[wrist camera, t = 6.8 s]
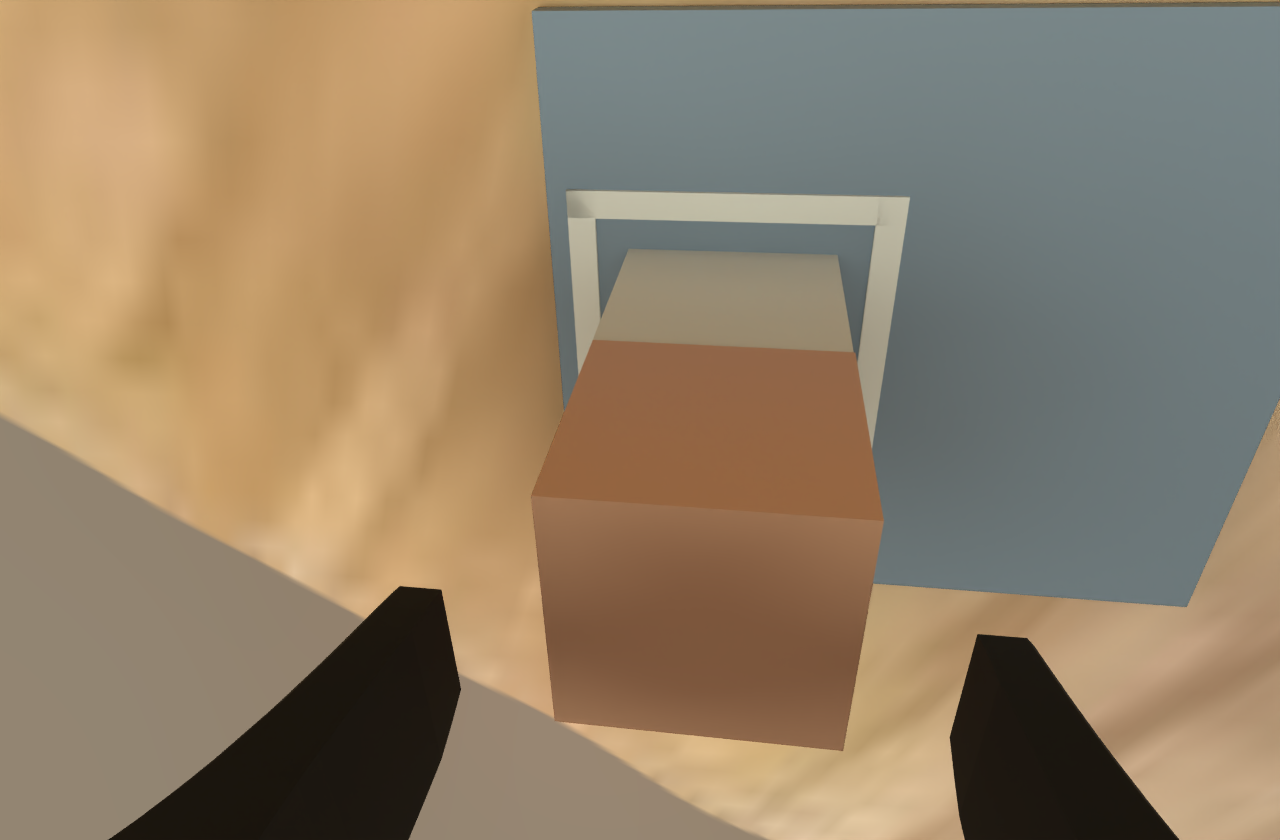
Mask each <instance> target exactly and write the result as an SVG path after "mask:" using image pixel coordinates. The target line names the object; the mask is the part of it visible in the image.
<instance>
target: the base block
mask: <svg viewBox="0 0 1280 840" xmlns="http://www.w3.org/2000/svg"><path fill="white" fill-rule="evenodd" d="M593 340H608V341H629V342H650V343H670V344H691V345H712V346H733V347H754V348H775V349H796V350H817V351H837V352H854V351H853V345H852V339H851V333H850V327H849V321H848V315H847V309H846V303H845V297H844V291H843V285H842V279H841V273H840V267H839V261H838V255H825V254H790V253H756V252H721V251H687V250H652V249H628V252H627V254H626V257H625V259H624V262H623V265H622V267H621V270H620V272H619V275H618V277H617V280H616V282H615V285H614V287H613V290H612V292H611V295H610V297H609V300H608V302H607V305H606V307H605V310H604V313H603V315H602V318H601V320H600V323H599V325H598V328H597V330H596V333H595V335H594V338H593ZM593 340H592V341H593Z"/></svg>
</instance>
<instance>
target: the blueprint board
mask: <svg viewBox="0 0 1280 840" xmlns="http://www.w3.org/2000/svg"><path fill="white" fill-rule="evenodd" d="M532 20H533V33H534V45H535V57H536V70H537V82H538V94H539V107H540V119H541V131H542V144H543V156H544V168H545V181H546V193H547V205H548V218H549V230H550V242H551V255H552V267H553V279H554V292H555V304H556V316H557V329H558V341H559V354H560V366H561V378H562V391H563V403H564V411H565V409H566V406H567V404H568V401H569V399H570V396H571V394H572V391H573V389H574V386H575V384H576V381H577V378H578V376H579V373H580V371H581V368H582V366H583V363H584V361H585V358H586V356H587V353H588V351H589V348H590V346H591V343H592V340H593V338H594V335H595V333H596V330H597V328H598V325H599V323H600V320H601V318H602V315H603V313H604V310H605V307H606V305H607V302H608V300H609V297H610V295H611V292H612V290H613V287H614V285H615V282H616V280H617V277H618V275H619V272H620V270H621V267H622V265H623V262H624V259H625V257H626V254H627V252H628V249H652V250H687V251H721V252H756V253H790V254H825V255H838V261H839V267H840V273H841V279H842V285H843V291H844V297H845V303H846V309H847V315H848V321H849V327H850V333H851V339H852V345H853V351H854V352H855V353H856V359H857V365H858V371H859V377H860V383H861V389H862V394H863V400H864V406H865V412H866V418H867V424H868V430H869V436H870V442H871V448H872V453H873V459H874V465H875V471H876V477H877V483H878V489H879V495H880V501H881V507H882V512H883V518H884V524H883V529H882V535H881V541H880V546H879V552H878V557H877V563H876V569H875V574H874V580H873V583H874V584H888V585H901V586H914V587H927V588H941V589H954V590H967V591H980V592H994V593H1007V594H1020V595H1033V596H1046V597H1060V598H1073V599H1086V600H1099V601H1113V602H1126V603H1139V604H1152V605H1166V606H1179V607H1187V605H1188V603H1189V601H1190V598H1191V596H1192V594H1193V592H1194V590H1195V587H1196V585H1197V583H1198V581H1199V578H1200V576H1201V574H1202V572H1203V569H1204V567H1205V565H1206V563H1207V560H1208V558H1209V556H1210V554H1211V551H1212V549H1213V547H1214V545H1215V542H1216V540H1217V538H1218V536H1219V533H1220V531H1221V529H1222V527H1223V524H1224V522H1225V520H1226V518H1227V515H1228V513H1229V511H1230V509H1231V506H1232V504H1233V502H1234V500H1235V497H1236V495H1237V493H1238V491H1239V489H1240V486H1241V484H1242V482H1243V480H1244V477H1245V475H1246V473H1247V471H1248V468H1249V466H1250V464H1251V462H1252V459H1253V457H1254V455H1255V453H1256V450H1257V448H1258V446H1259V444H1260V441H1261V439H1262V437H1263V435H1264V432H1265V430H1266V428H1267V426H1268V423H1269V421H1270V419H1271V417H1272V414H1273V412H1274V410H1275V408H1276V405H1277V403H1278V401H1279V399H1280V2H1218V3H1068V4H919V5H769V6H619V7H538V8H536V9H534V10H533V11H532Z"/></svg>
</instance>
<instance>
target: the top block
mask: <svg viewBox="0 0 1280 840" xmlns="http://www.w3.org/2000/svg"><path fill="white" fill-rule="evenodd" d="M531 501H532V510H533V519H534V529H535V538H536V548H537V557H538V567H539V576H540V586H541V595H542V605H543V614H544V624H545V633H546V643H547V652H548V661H549V671H550V680H551V690H552V699H553V709H554V718H555V721H559V722H569V723H578V724H588V725H598V726H607V727H617V728H627V729H636V730H646V731H656V732H665V733H675V734H685V735H694V736H704V737H714V738H723V739H733V740H743V741H752V742H762V743H772V744H781V745H791V746H801V747H810V748H820V749H830V750H839V751H843V749H844V743H845V737H846V732H847V726H848V720H849V715H850V709H851V704H852V698H853V692H854V687H855V681H856V675H857V670H858V664H859V659H860V653H861V647H862V642H863V636H864V630H865V625H866V619H867V614H868V608H869V602H870V597H871V591H872V585H873V580H874V574H875V569H876V563H877V557H878V552H879V546H880V541H881V535H882V529H883V524H884V518H883V512H882V507H881V501H880V495H879V489H878V483H877V477H876V471H875V465H874V459H873V453H872V448H871V442H870V436H869V430H868V424H867V418H866V412H865V406H864V400H863V394H862V389H861V383H860V377H859V371H858V365H857V359H856V353H855V352H837V351H817V350H796V349H775V348H754V347H733V346H712V345H691V344H670V343H650V342H629V341H608V340H593V341H592V343H591V346H590V348H589V351H588V353H587V356H586V358H585V361H584V363H583V366H582V368H581V371H580V373H579V376H578V378H577V381H576V384H575V386H574V389H573V391H572V394H571V396H570V399H569V401H568V404H567V406H566V409H565V411H564V414H563V416H562V419H561V421H560V424H559V426H558V429H557V432H556V434H555V437H554V439H553V442H552V444H551V447H550V449H549V452H548V454H547V457H546V459H545V462H544V464H543V467H542V469H541V472H540V475H539V477H538V480H537V482H536V485H535V487H534V490H533V492H532V495H531Z"/></svg>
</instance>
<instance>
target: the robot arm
mask: <svg viewBox="0 0 1280 840" xmlns="http://www.w3.org/2000/svg"><path fill="white" fill-rule="evenodd" d="M460 691H461V688H460V682H459V677H458V672H457V666H456V661H455V656H454V651H453V646H452V641H451V636H450V631H449V626H448V621H447V616H446V611H445V606H444V601H443V596H442V591H441V590H439V589H427V588H415V587H403V586H400V587H398V588H397V589H396V590H395V591H394V592H393V593H392V594H391V595H390V596H389V597H388V598H387V599H386V600H384V601H383V602H382V603H381V604H380V605H379V606H378V607H377V608H376V609H375V610H374V611H373V612H372V613H371V614H370V615H369V616H368V617H367V618H366V619H365V620H364V621H363V622H362V623H361V624H360V625H359V626H358V627H357V628H356V629H355V630H354V631H353V632H352V633H351V634H350V635H349V636H348V637H347V638H346V639H345V640H344V641H343V642H342V643H341V644H340V645H339V646H338V647H337V648H336V649H335V650H334V651H333V652H332V653H331V654H330V655H329V656H328V657H327V658H326V659H325V660H324V661H323V662H322V663H321V664H320V665H318V666H317V667H316V668H315V669H314V670H313V671H312V672H311V673H310V674H309V675H308V676H307V677H306V678H305V679H304V680H303V681H301V683H299V684H298V685H297V686H296V687H295V688H294V689H293V690H292V691H291V692H290V693H289V694H288V695H287V696H286V697H285V698H284V699H282V701H280V702H279V703H278V704H277V705H276V706H275V707H274V708H273V709H271V710H270V711H269V712H268V713H267V714H266V715H265V716H264V717H262V718H261V719H260V720H259V721H258V722H257V723H256V724H254V725H253V726H252V727H251V728H250V729H249V730H247V731H246V732H245V733H244V734H243V735H242V736H241V737H240V738H238V739H237V740H236V741H235V742H234V743H233V744H231V745H230V746H229V747H228V748H227V749H226V750H224V752H222V753H221V754H220V755H219V756H217V757H216V758H215V759H214V760H213V761H211V762H210V763H209V764H208V765H207V766H206V767H204V768H203V769H202V770H200V771H199V772H198V773H197V774H196V775H194V776H193V777H192V778H191V779H189V780H188V781H187V782H185V783H184V784H183V785H182V786H180V787H179V788H178V789H177V790H175V791H174V792H173V793H171V794H170V795H169V796H167V797H166V798H165V799H164V800H162V801H161V802H160V803H158V804H157V805H156V806H154V807H153V808H152V809H150V810H149V811H148V812H146V813H145V814H144V815H143V816H141V817H140V818H138V819H137V820H136V821H134V822H133V823H131V824H130V825H129V826H127V827H126V828H124V829H123V830H122V831H120V832H119V833H117V834H116V835H114V836H113V837H112V838H110V839H109V840H408V839H409V837H410V835H411V832H412V830H413V827H414V825H415V822H416V820H417V818H418V815H419V813H420V810H421V808H422V806H423V803H424V801H425V798H426V796H427V793H428V791H429V789H430V786H431V784H432V781H433V779H434V776H435V774H436V771H437V769H438V766H439V764H440V761H441V758H442V755H443V752H444V748H445V745H446V742H447V738H448V735H449V731H450V728H451V724H452V721H453V717H454V713H455V710H456V706H457V702H458V698H459V695H460ZM950 743H951V752H952V761H953V770H954V779H955V786H956V794H957V802H958V809H959V816H960V821H961V825H962V830H963V834H964V838H965V840H1179V838H1178V837H1177V836H1176V835H1175V834H1174V833H1173V831H1172V830H1171V829H1170V828H1169V826H1168V825H1167V824H1166V823H1165V822H1164V820H1163V819H1162V818H1161V817H1160V815H1159V814H1158V813H1157V812H1156V810H1155V809H1154V808H1153V807H1152V806H1151V804H1150V803H1149V802H1148V800H1147V799H1146V798H1145V797H1144V795H1143V794H1142V793H1141V791H1140V790H1139V789H1138V788H1137V786H1136V785H1135V784H1134V782H1133V781H1132V780H1131V779H1130V777H1129V776H1128V775H1127V774H1126V772H1125V771H1124V770H1123V768H1122V767H1121V766H1120V765H1119V763H1118V762H1117V761H1116V759H1115V758H1114V757H1113V755H1112V754H1111V753H1110V751H1109V750H1108V749H1107V747H1106V746H1105V745H1104V743H1103V742H1102V741H1101V739H1100V738H1099V737H1098V735H1097V734H1096V733H1095V731H1094V730H1093V729H1092V727H1091V726H1090V724H1089V723H1088V722H1087V720H1086V719H1085V718H1084V716H1083V715H1082V713H1081V712H1080V711H1079V709H1078V708H1077V707H1076V705H1075V704H1074V702H1073V701H1072V700H1071V698H1070V697H1069V695H1068V694H1067V692H1066V691H1065V690H1064V688H1063V687H1062V685H1061V684H1060V683H1059V681H1058V680H1057V678H1056V677H1055V675H1054V674H1053V672H1052V671H1051V670H1050V668H1049V667H1048V665H1047V664H1046V662H1045V661H1044V659H1043V658H1042V657H1041V655H1040V654H1039V652H1038V651H1037V649H1036V648H1035V646H1034V645H1033V644H1032V643H1031V642H1030V641H1029V640H1028V639H1027V638H1018V637H1006V636H994V635H982V634H978V635H977V638H976V642H975V646H974V649H973V653H972V657H971V661H970V664H969V668H968V672H967V675H966V679H965V683H964V686H963V690H962V694H961V698H960V701H959V705H958V709H957V712H956V716H955V720H954V723H953V727H952V731H951V735H950Z"/></svg>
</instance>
